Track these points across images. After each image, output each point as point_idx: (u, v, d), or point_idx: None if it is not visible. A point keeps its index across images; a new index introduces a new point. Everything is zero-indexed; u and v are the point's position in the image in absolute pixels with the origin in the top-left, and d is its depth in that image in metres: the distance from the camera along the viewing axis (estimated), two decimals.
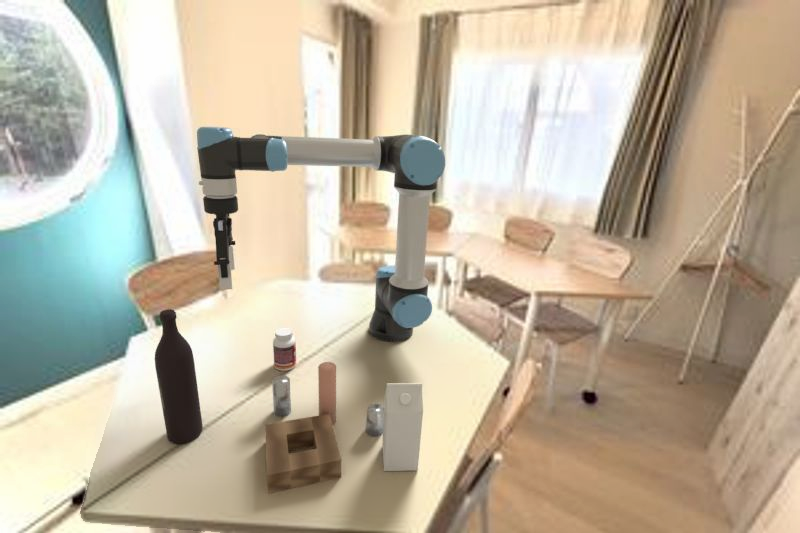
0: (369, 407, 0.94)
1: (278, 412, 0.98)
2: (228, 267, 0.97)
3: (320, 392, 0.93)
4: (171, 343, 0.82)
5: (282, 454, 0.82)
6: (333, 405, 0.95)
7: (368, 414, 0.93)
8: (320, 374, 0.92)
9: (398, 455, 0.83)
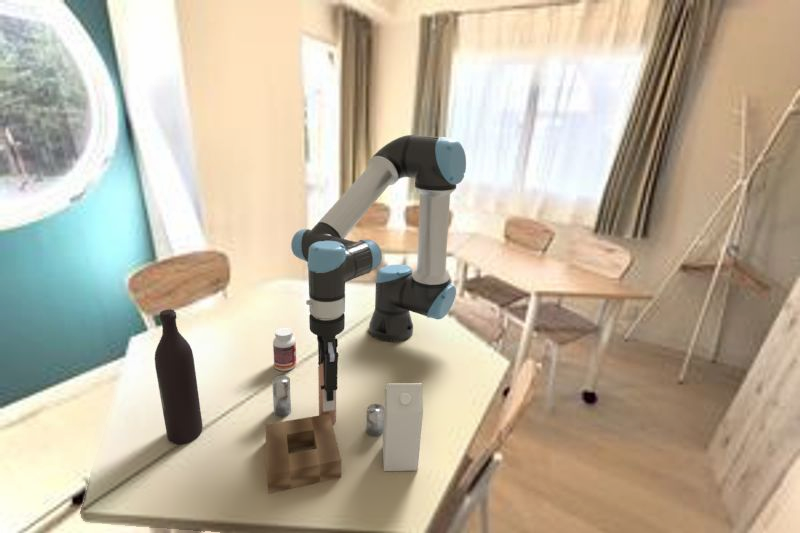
0: (369, 407, 0.94)
1: (278, 412, 0.98)
2: (333, 389, 0.92)
3: (320, 392, 0.93)
4: (171, 343, 0.82)
5: (282, 454, 0.82)
6: None
7: (368, 414, 0.93)
8: (320, 374, 0.92)
9: (398, 455, 0.83)
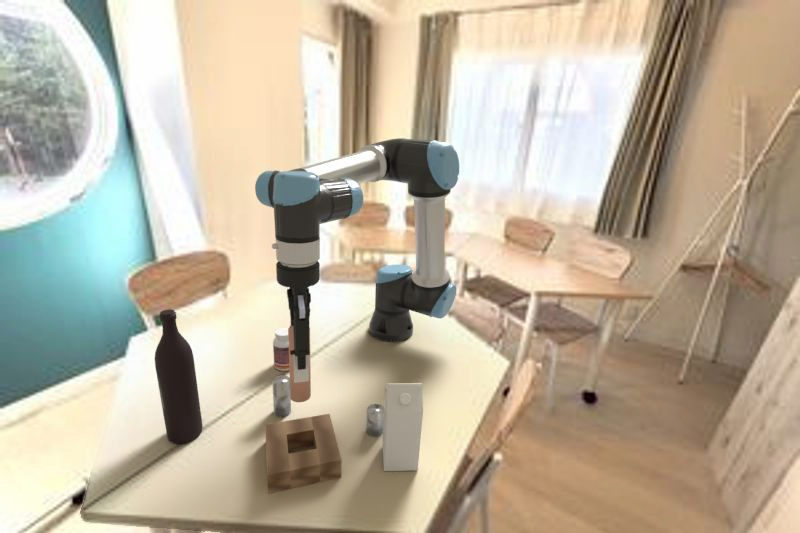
0: (369, 407, 0.94)
1: (278, 412, 0.98)
2: (306, 355, 0.77)
3: (290, 359, 0.78)
4: (171, 343, 0.82)
5: (282, 454, 0.82)
6: None
7: (368, 414, 0.93)
8: (290, 337, 0.76)
9: (398, 455, 0.83)
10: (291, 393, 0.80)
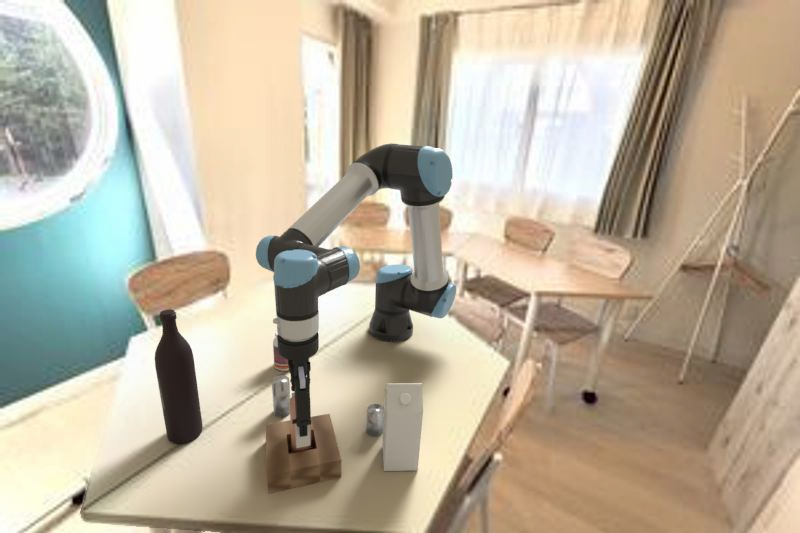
0: (369, 407, 0.94)
1: (278, 412, 0.98)
2: None
3: (292, 428, 0.82)
4: (171, 343, 0.82)
5: (282, 454, 0.82)
6: None
7: (368, 414, 0.93)
8: (292, 409, 0.80)
9: (398, 455, 0.83)
10: None
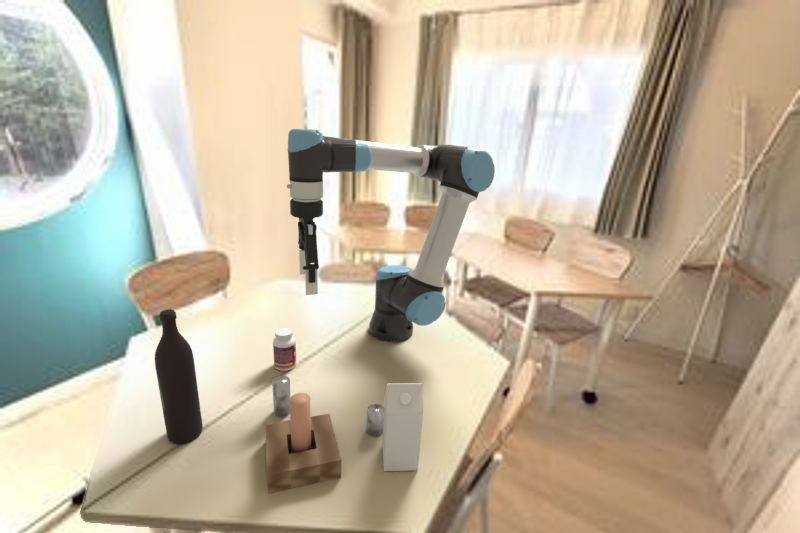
0: (369, 407, 0.94)
1: (279, 412, 0.98)
2: (315, 272, 0.95)
3: (292, 427, 0.82)
4: (171, 343, 0.82)
5: (282, 454, 0.82)
6: (307, 442, 0.84)
7: (368, 414, 0.93)
8: (292, 408, 0.81)
9: (398, 455, 0.83)
10: None
